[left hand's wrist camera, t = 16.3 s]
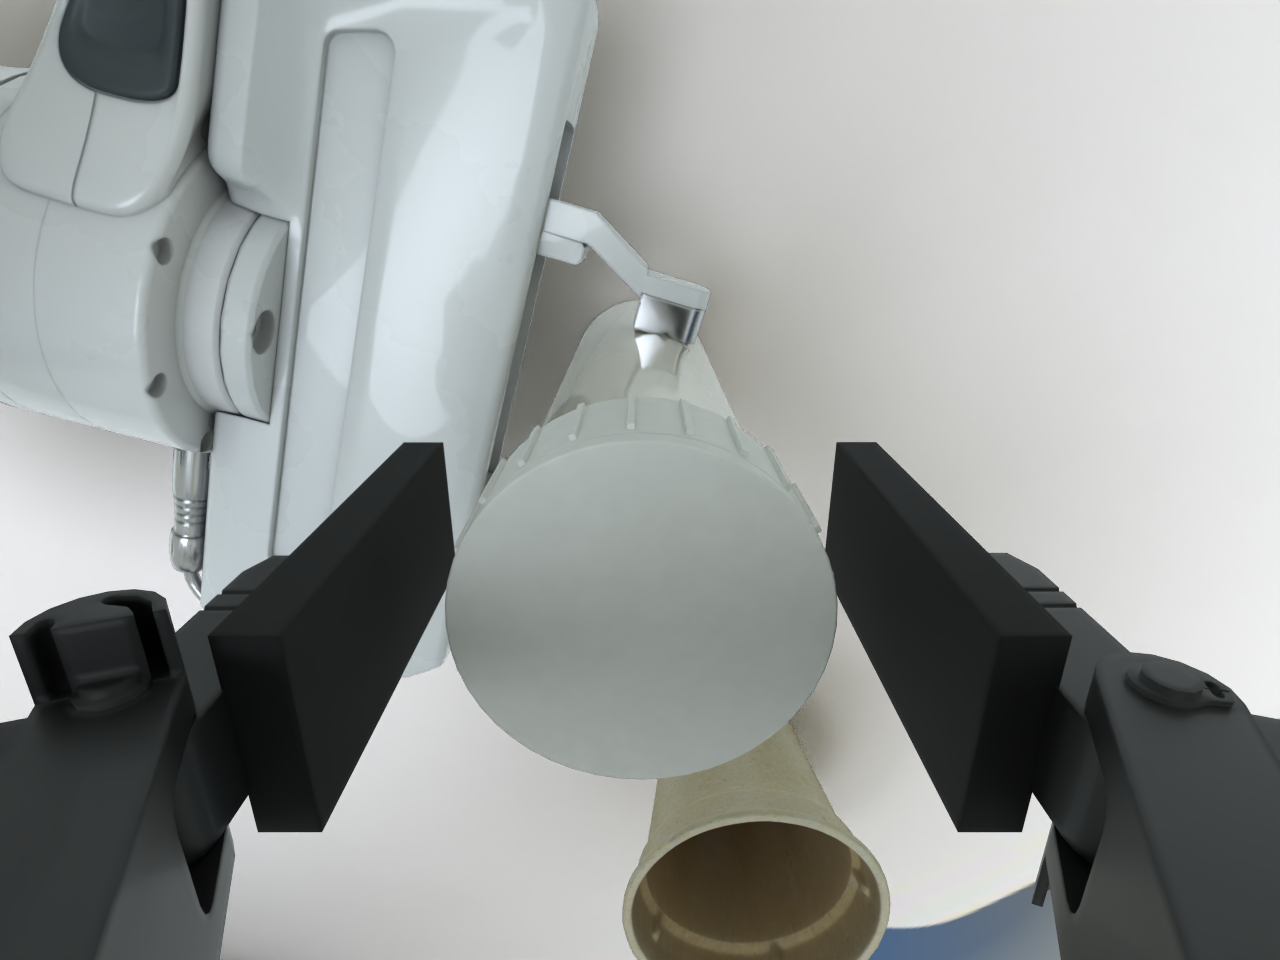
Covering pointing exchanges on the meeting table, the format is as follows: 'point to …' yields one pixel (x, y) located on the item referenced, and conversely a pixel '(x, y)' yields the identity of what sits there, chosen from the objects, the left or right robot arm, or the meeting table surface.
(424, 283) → the right robot arm
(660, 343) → the white bottle
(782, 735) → the flower pot
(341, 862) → the meeting table surface
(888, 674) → the left robot arm
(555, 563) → the lid
